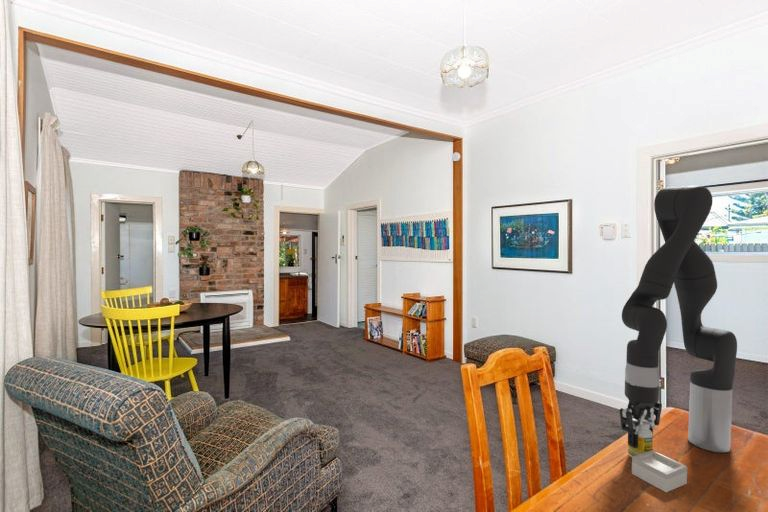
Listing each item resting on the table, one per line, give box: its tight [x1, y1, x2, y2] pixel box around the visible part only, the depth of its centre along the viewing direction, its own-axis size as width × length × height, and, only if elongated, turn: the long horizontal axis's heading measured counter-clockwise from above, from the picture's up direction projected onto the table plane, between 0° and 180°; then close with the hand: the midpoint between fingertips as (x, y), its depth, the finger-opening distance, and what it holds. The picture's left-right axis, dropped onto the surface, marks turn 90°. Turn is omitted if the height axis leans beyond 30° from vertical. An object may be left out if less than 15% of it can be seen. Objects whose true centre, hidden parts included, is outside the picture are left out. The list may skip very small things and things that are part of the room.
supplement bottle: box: [627, 417, 654, 458], centre depth 103 cm, size 5×5×10 cm
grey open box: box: [631, 449, 688, 493], centre depth 95 cm, size 8×8×4 cm
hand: (640, 443), depth 103 cm, fingers closed on supplement bottle, 5 cm apart
